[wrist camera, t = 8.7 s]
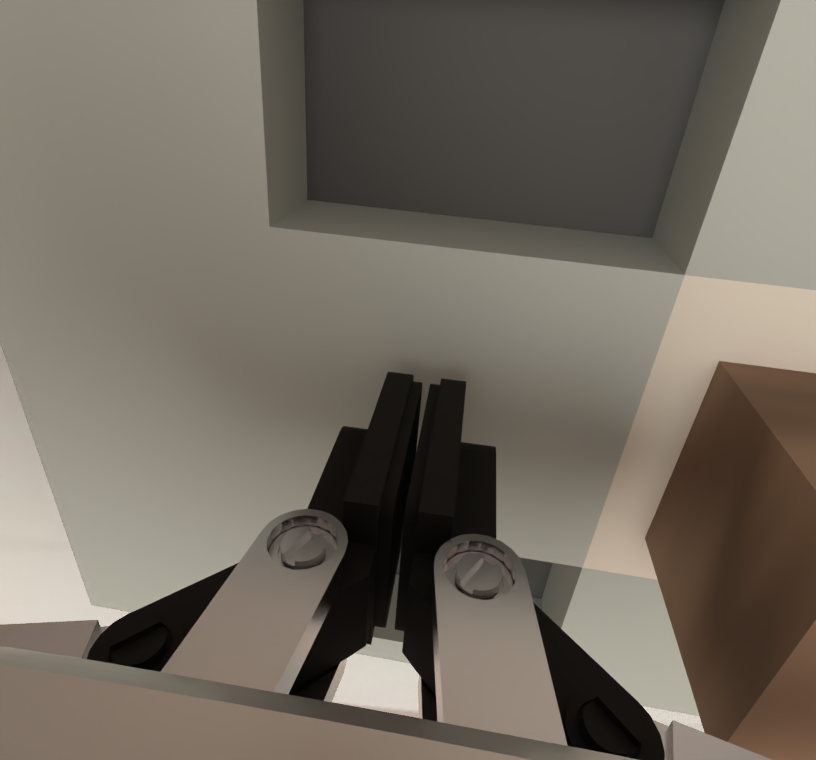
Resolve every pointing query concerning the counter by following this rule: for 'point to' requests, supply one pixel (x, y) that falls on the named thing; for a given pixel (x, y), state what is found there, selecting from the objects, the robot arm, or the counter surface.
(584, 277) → the board
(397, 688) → the counter surface
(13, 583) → the counter surface
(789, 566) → the walnut block
